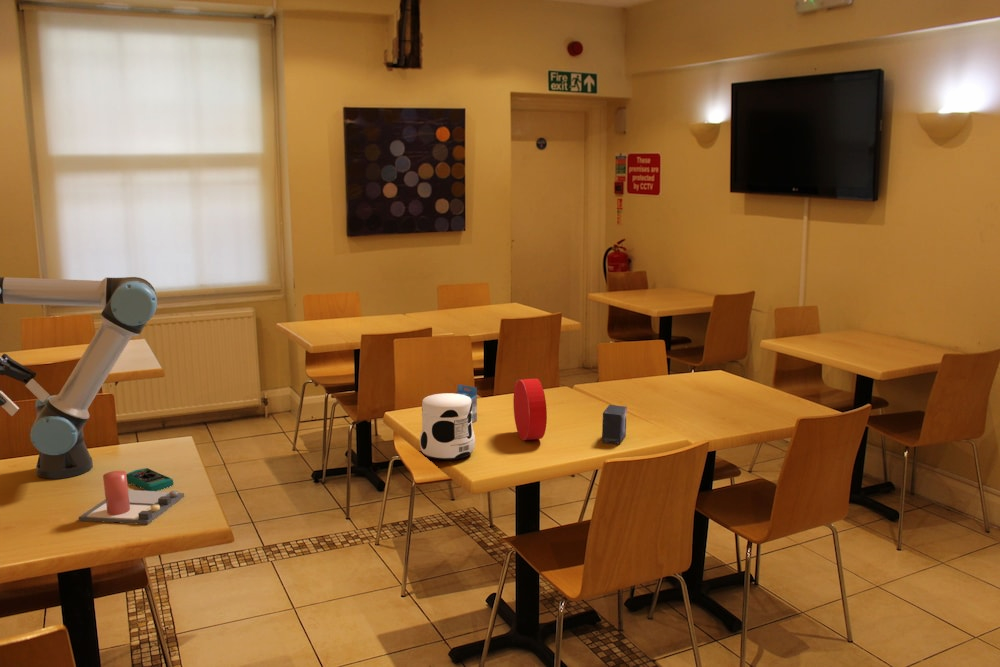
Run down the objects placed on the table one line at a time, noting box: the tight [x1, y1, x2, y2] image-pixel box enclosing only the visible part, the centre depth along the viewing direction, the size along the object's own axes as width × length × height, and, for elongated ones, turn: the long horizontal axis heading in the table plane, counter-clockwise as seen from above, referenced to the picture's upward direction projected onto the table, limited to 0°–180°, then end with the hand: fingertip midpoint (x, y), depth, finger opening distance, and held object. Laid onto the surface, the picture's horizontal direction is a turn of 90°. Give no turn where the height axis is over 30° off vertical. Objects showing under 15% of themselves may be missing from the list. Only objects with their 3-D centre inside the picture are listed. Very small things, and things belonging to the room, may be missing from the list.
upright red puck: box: [512, 378, 548, 441], centre depth 288 cm, size 20×6×20 cm, turn 14°
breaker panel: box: [78, 489, 185, 525], centre depth 232 cm, size 19×19×3 cm
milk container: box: [419, 392, 476, 461], centre depth 272 cm, size 17×17×18 cm
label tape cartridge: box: [454, 384, 478, 424], centre depth 309 cm, size 9×4×12 cm, turn 55°
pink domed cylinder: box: [102, 470, 130, 515], centre depth 227 cm, size 6×6×10 cm
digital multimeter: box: [126, 467, 174, 491], centre depth 250 cm, size 7×15×3 cm, turn 50°
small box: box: [601, 404, 628, 446], centre depth 287 cm, size 11×6×10 cm, turn 161°
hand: (31, 405), depth 233 cm, fingers open, 12 cm apart
